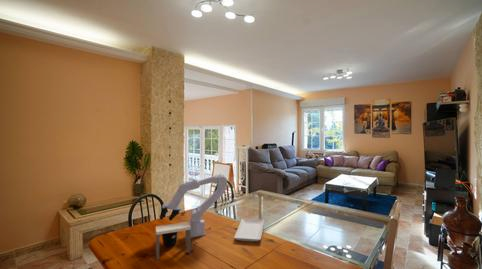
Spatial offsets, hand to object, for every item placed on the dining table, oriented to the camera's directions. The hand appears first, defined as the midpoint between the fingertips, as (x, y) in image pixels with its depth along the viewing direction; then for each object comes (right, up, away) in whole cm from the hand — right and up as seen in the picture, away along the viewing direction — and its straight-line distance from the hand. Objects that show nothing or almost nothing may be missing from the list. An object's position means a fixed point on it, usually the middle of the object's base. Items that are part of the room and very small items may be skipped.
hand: (165, 219), depth 145 cm
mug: (+6, -12, -8) cm, 16 cm away
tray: (+55, -12, +8) cm, 57 cm away
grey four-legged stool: (+11, -12, -18) cm, 24 cm away
